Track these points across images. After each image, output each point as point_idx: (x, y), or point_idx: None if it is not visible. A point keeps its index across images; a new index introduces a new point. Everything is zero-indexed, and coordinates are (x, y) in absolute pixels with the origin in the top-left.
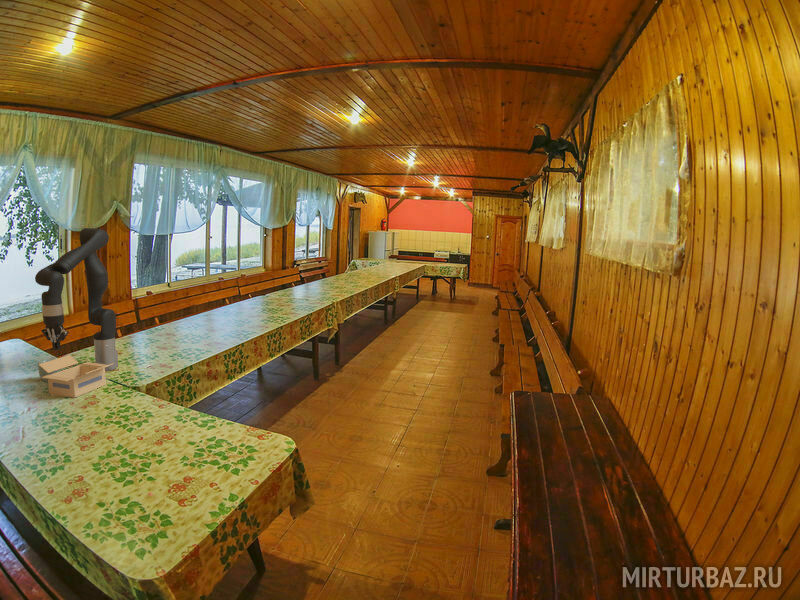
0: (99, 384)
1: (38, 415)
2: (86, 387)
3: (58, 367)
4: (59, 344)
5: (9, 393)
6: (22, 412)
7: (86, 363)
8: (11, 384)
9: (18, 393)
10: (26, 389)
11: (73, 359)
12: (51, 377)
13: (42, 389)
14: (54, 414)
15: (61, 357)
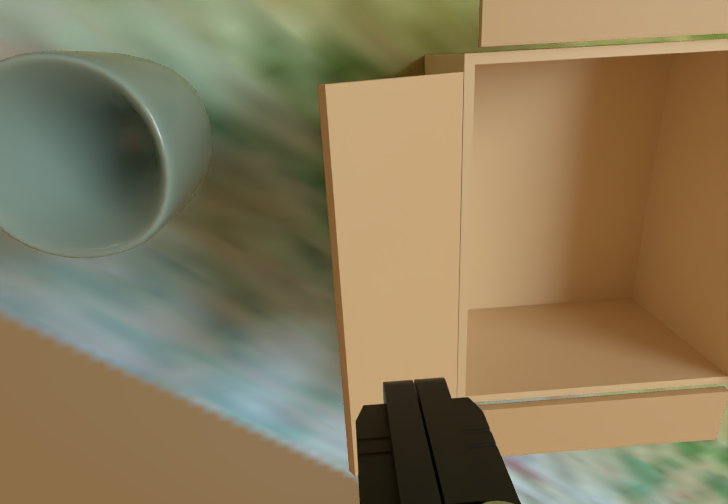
0: (686, 108)
1: (624, 493)
2: (675, 231)
3: (441, 311)
4: (503, 476)
5: (193, 388)
6: (522, 499)
7: (525, 7)
8: (11, 292)
9: (241, 371)
10: (209, 314)
11: (405, 92)
12: (550, 435)
13: (303, 277)
14: (688, 464)
15: (337, 223)
